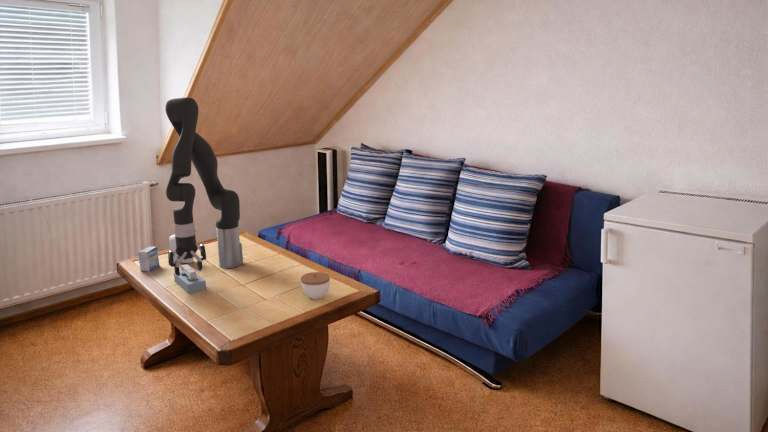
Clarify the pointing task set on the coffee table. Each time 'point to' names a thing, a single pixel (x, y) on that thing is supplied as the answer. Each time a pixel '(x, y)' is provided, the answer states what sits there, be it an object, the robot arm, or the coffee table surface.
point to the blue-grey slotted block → (190, 283)
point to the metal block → (188, 272)
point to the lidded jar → (315, 284)
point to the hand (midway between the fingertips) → (188, 272)
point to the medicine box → (148, 258)
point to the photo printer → (173, 248)
